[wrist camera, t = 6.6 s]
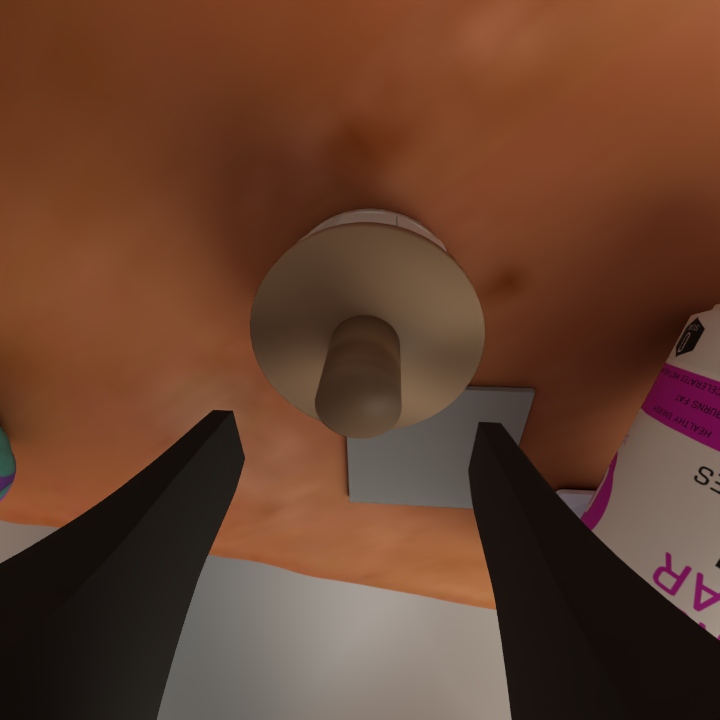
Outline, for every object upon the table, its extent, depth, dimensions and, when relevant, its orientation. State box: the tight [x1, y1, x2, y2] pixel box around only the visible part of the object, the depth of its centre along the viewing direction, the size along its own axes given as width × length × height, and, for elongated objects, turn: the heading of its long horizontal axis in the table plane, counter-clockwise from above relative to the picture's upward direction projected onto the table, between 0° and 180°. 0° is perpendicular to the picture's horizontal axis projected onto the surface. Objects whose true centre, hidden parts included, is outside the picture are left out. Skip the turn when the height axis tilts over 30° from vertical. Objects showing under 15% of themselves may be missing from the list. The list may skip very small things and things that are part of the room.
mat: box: [347, 386, 535, 509], centre depth 26 cm, size 11×11×1 cm
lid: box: [250, 222, 485, 439], centre depth 15 cm, size 10×10×5 cm
